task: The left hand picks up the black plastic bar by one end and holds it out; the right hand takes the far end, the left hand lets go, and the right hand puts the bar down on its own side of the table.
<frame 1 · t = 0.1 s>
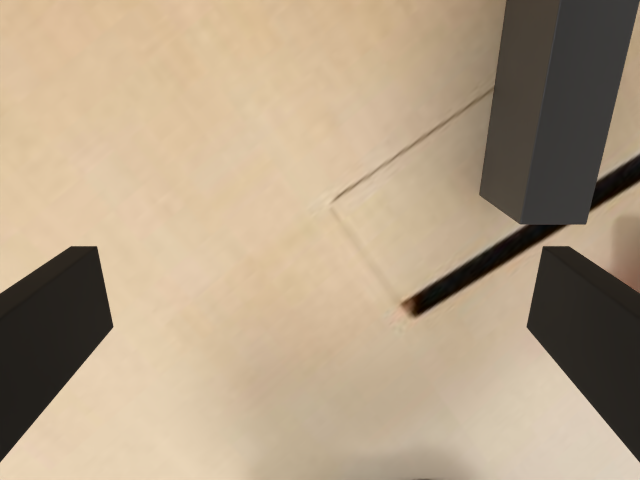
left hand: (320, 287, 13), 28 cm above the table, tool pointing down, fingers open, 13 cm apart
bar: (528, 56, 36), on the table
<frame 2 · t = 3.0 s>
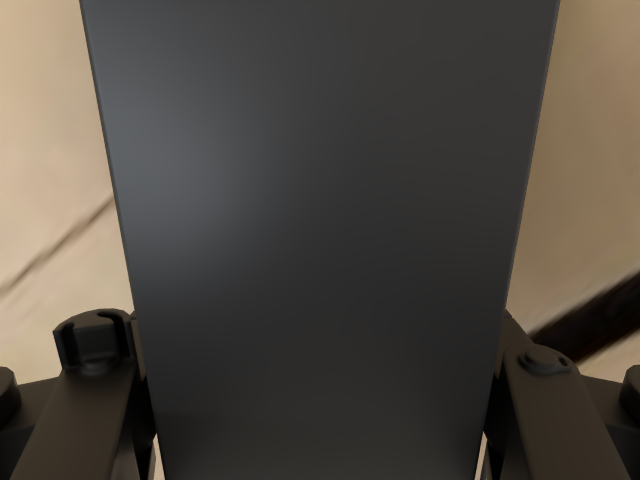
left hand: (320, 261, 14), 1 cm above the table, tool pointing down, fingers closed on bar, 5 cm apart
bar: (319, 7, 12), on the table, touching left hand
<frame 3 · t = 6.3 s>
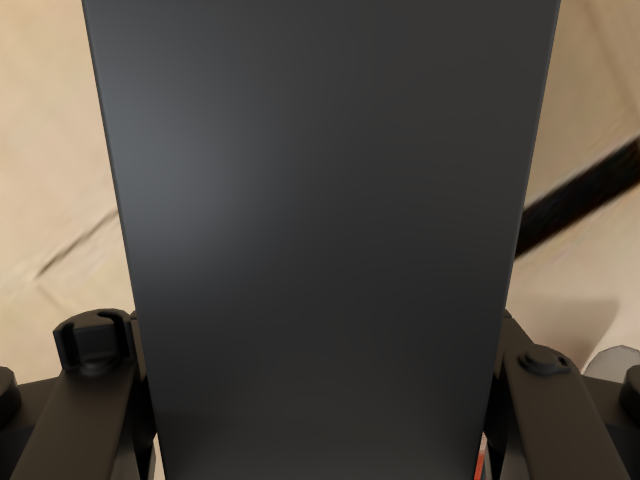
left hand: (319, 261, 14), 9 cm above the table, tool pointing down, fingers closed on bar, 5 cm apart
fish: (507, 400, 28), on the table
bar: (320, 7, 12), point 8 cm above the table, touching left hand, right hand
when the left hand's fingers open (9 cm above the table, at t = 7.3 s): bar stays where it is, held by the right hand.
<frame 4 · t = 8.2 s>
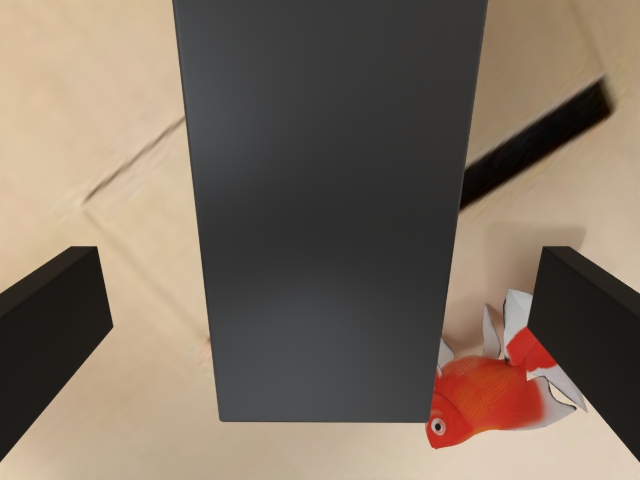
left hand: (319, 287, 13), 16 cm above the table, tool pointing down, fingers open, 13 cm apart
fish: (488, 320, 32), on the table
when the right hand's fingers open (6 cm above the table, at t = 13.0 s): bar drops 2 cm, on the table.
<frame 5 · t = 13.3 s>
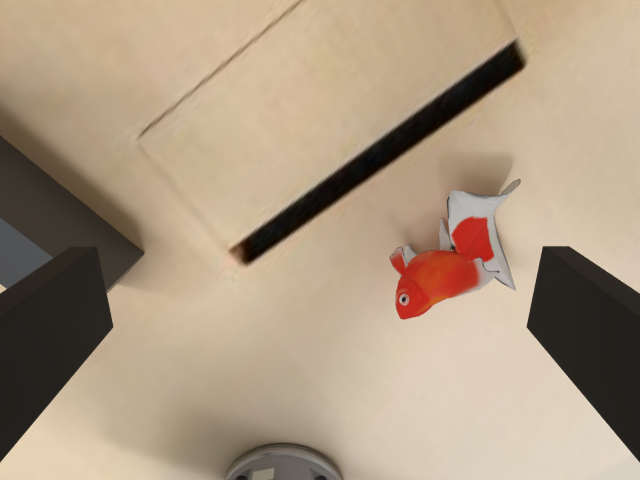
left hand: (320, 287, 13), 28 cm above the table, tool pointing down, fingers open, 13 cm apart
fish: (445, 231, 42), on the table
bar: (25, 186, 40), on the table
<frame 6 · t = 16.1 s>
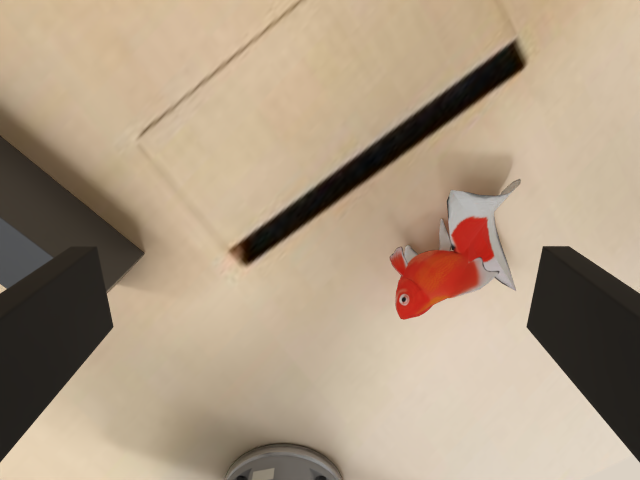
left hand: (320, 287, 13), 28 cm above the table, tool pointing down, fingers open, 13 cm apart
fish: (445, 231, 42), on the table
bar: (25, 186, 40), on the table
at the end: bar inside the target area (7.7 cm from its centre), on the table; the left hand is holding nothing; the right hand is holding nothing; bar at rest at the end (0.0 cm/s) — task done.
